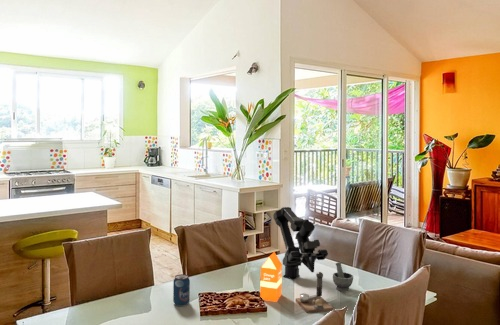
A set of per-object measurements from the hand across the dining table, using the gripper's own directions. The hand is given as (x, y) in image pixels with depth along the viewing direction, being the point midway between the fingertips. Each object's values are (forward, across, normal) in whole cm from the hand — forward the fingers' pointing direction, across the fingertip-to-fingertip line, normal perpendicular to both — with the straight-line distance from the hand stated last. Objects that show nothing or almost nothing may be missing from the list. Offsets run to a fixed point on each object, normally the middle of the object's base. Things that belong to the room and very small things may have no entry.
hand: (312, 271), depth 187 cm
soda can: (+5, -60, +11) cm, 61 cm away
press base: (+16, -4, 0) cm, 16 cm away
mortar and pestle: (+5, +18, +11) cm, 21 cm away
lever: (+12, -4, +1) cm, 13 cm away
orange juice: (+6, -20, +10) cm, 23 cm away
